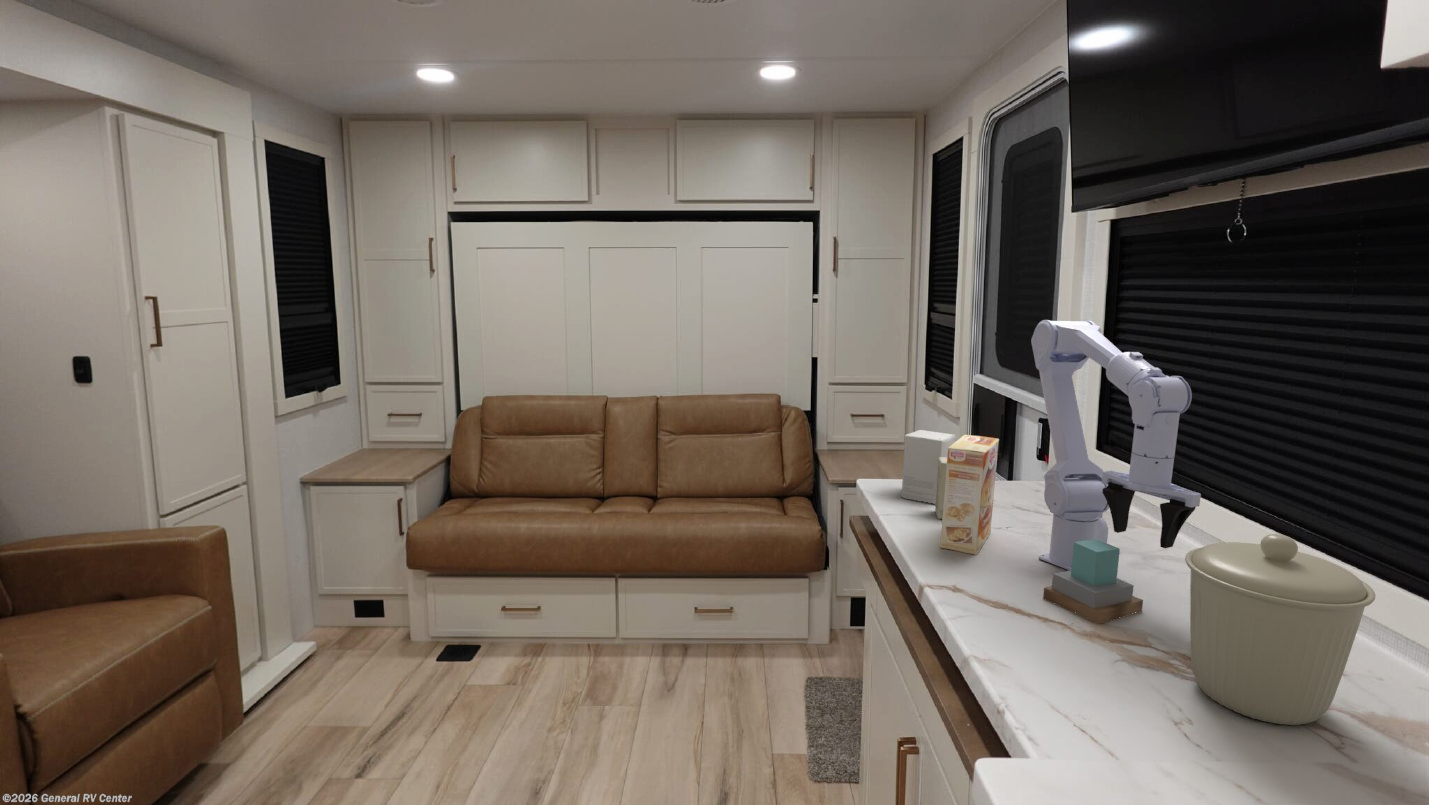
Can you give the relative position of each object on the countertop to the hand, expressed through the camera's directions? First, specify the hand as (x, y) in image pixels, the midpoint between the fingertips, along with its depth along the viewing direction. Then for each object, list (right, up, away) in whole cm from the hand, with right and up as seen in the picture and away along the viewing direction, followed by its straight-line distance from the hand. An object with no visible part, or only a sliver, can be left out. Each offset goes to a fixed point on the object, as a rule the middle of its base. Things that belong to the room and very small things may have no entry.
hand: (1142, 538), depth 119 cm
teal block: (-8, -6, -1) cm, 10 cm away
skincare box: (-17, -3, +44) cm, 47 cm away
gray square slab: (-8, -9, 0) cm, 12 cm away
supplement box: (-18, -1, +57) cm, 60 cm away
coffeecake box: (-18, -6, +29) cm, 34 cm away
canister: (-1, -15, -26) cm, 30 cm away
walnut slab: (-8, -11, 0) cm, 14 cm away
